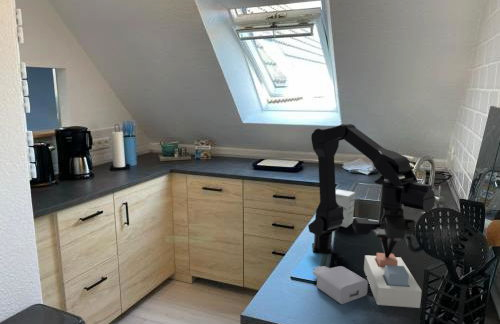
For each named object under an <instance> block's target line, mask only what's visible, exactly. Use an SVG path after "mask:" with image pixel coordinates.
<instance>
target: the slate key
mask: <svg viewBox="0 0 500 324" xmlns="http://www.w3.org/2000/svg"><path fill="white" fill-rule="evenodd" d="M408 279H409V274H408V272H407V271H406V269H405V268H404V266H394V265H385V270H384V280H385V282H386V284H387V285H389V286H403V287H408Z"/></svg>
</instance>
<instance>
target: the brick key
mask: <svg viewBox="0 0 500 324" xmlns="http://www.w3.org/2000/svg"><path fill="white" fill-rule="evenodd" d="M375 256H376V263H377V265H378V267H385V265H394V266H397V262H398V261H397V259H396V258H395V257H396V256H395V254H394V253H391V254H390V256H389V257H385V255H384V252H376V254H375Z"/></svg>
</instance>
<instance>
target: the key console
mask: <svg viewBox="0 0 500 324" xmlns="http://www.w3.org/2000/svg"><path fill="white" fill-rule="evenodd" d="M395 258H396V259H397V261H398V262H397V266H404V268H405V269H406V271H407V272H408V274H409V279H408V287H403V286H389V285H387V284H386V282H385V280H384V270H385V267H378V265H377V263H376V255H368V254H367V255H366V254H365V255H364V263H363V271H364V274H365V277H366V276H367V277H366V280H367V281H368V284H370V285H369V287H370V290H371V293H372V295H373V297H374V300H375V303H376V305H377V306H390V307H391V306H392V307H400V308H401V307H402V308H415V309H416V308H417V309H420V308H421V300H422V292H423V291H422V289H421V287H420V285H419V284H418V283H417V281H416V279H415V278H414V276H413V275H412V273H411V272H410V270H409V268H408V266H407V265H406V263H405V262H404V260H403V259H402V257H401V256H400V257H399V256H398V257H396V256H395Z"/></svg>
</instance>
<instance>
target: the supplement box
mask: <svg viewBox="0 0 500 324" xmlns="http://www.w3.org/2000/svg"><path fill="white" fill-rule="evenodd" d="M355 200H356V192H355V191H350V190H343V189H336V202H337V204H338V205H339V207H343V217H344V219H343V222H342V224H341V225H340V226H339V227H343V228H348V227H349V226H351V224H352V225H353V220H354V211H355Z"/></svg>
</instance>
